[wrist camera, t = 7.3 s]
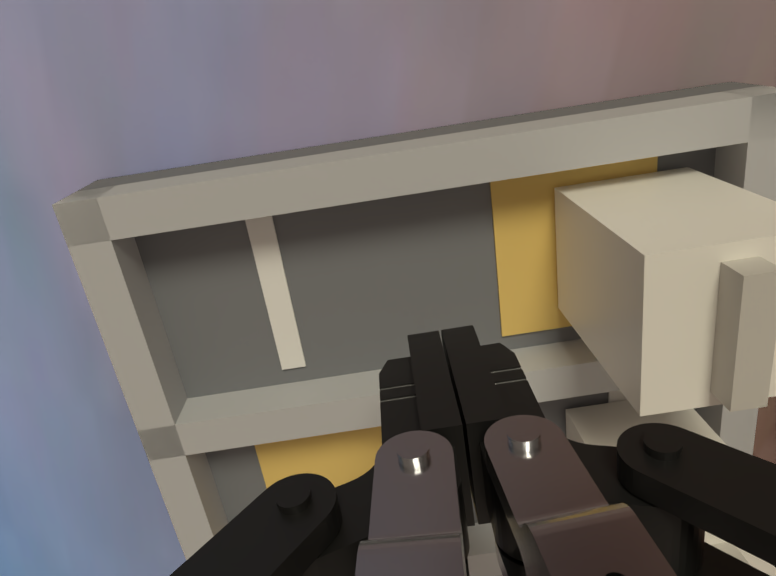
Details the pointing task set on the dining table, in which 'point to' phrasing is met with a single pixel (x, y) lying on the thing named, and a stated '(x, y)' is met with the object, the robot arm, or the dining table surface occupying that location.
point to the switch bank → (366, 282)
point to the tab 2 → (616, 417)
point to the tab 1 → (672, 287)
